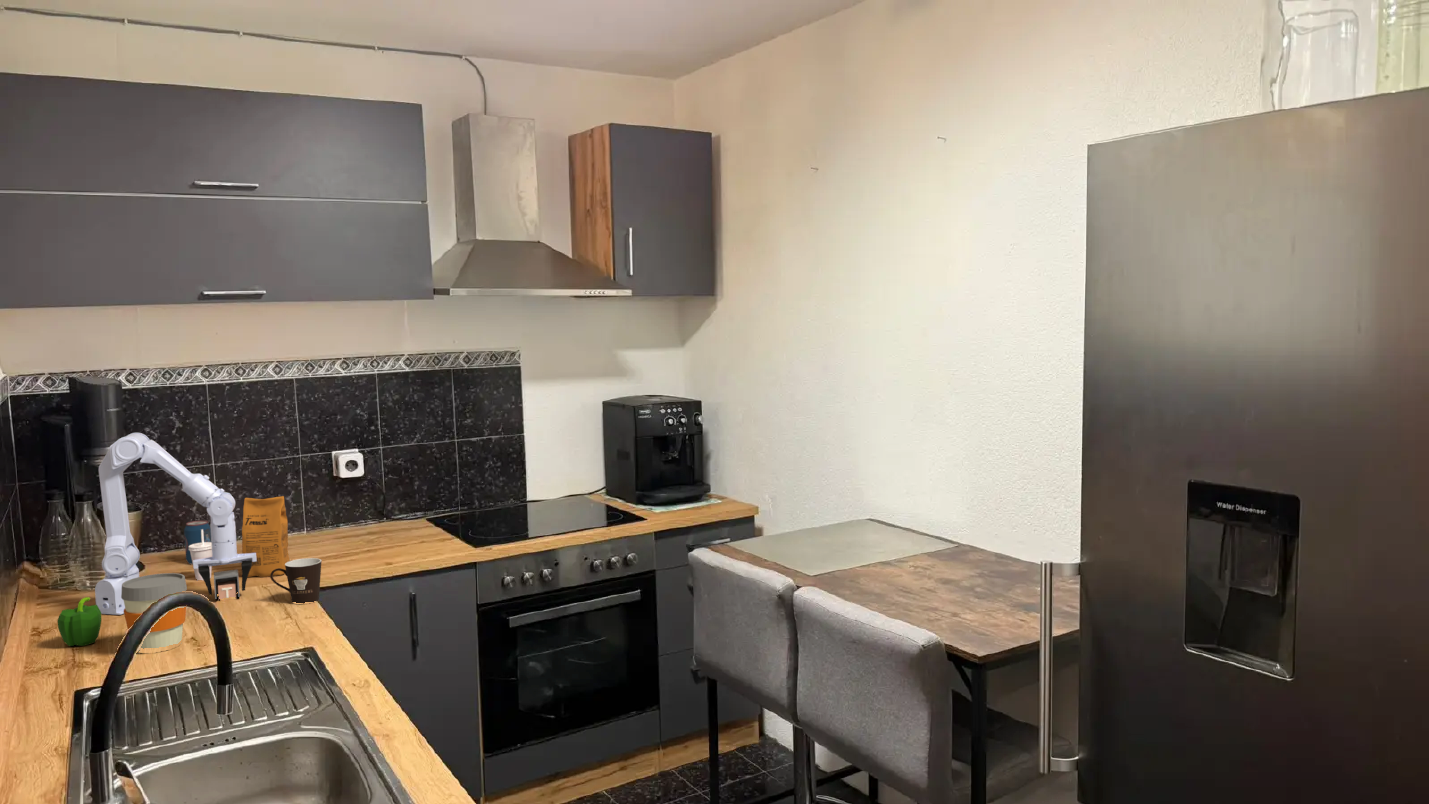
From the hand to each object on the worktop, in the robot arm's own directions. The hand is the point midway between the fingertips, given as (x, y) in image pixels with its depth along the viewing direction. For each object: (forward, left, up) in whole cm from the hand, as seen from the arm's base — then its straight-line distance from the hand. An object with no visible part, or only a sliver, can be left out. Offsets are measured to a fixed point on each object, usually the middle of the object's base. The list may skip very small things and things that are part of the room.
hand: (227, 591), depth 246 cm
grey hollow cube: (0, 0, -2) cm, 2 cm away
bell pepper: (-36, +8, -2) cm, 37 cm away
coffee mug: (+1, -20, -2) cm, 21 cm away
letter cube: (0, 0, -2) cm, 2 cm away
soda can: (+31, +35, -2) cm, 47 cm away
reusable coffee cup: (-35, -11, -2) cm, 37 cm away
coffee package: (+23, +6, -2) cm, 24 cm away
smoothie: (+15, +20, -2) cm, 25 cm away
